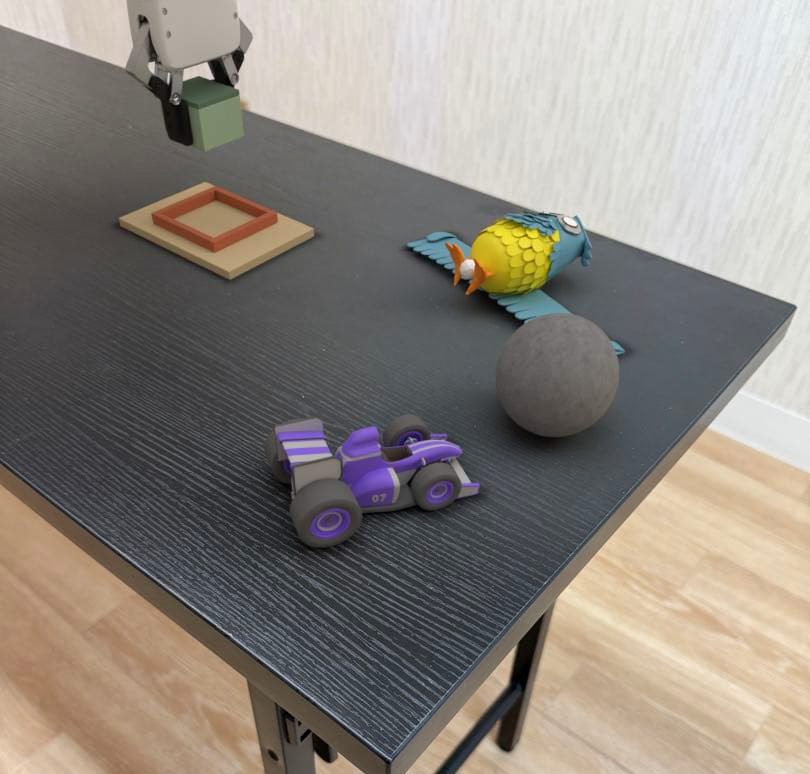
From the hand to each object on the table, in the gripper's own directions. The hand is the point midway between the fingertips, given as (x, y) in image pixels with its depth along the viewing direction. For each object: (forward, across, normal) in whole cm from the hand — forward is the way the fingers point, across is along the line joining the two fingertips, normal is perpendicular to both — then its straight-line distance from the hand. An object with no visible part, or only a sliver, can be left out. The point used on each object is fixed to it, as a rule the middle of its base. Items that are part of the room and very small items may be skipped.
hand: (204, 131), depth 84 cm
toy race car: (+11, +21, +41) cm, 47 cm away
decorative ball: (+11, +5, +47) cm, 48 cm away
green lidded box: (0, 0, 0) cm, 1 cm away
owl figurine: (+11, -11, +33) cm, 36 cm away
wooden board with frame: (+11, 0, 0) cm, 11 cm away
